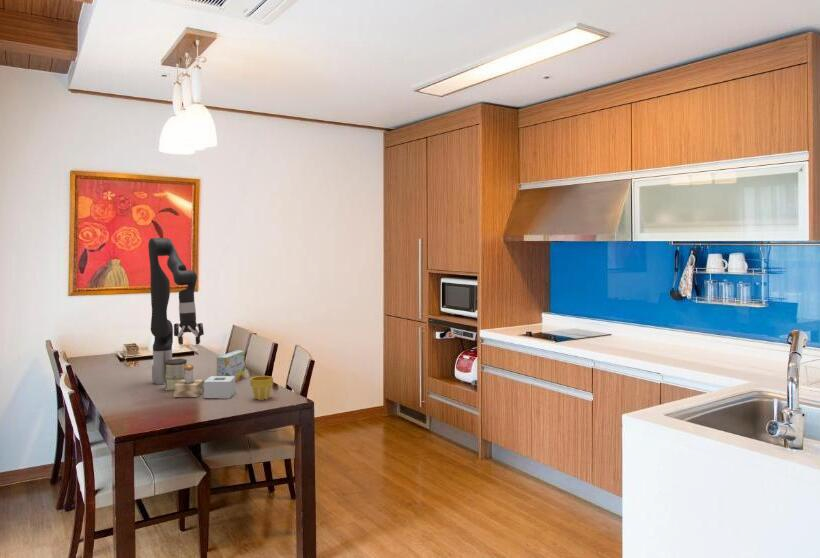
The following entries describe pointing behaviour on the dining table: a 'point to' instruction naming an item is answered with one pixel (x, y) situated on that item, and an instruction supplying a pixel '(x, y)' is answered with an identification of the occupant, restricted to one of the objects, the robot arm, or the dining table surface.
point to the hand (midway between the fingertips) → (189, 344)
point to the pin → (188, 374)
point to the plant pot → (261, 386)
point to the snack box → (232, 364)
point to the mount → (189, 389)
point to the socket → (219, 387)
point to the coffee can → (174, 372)
